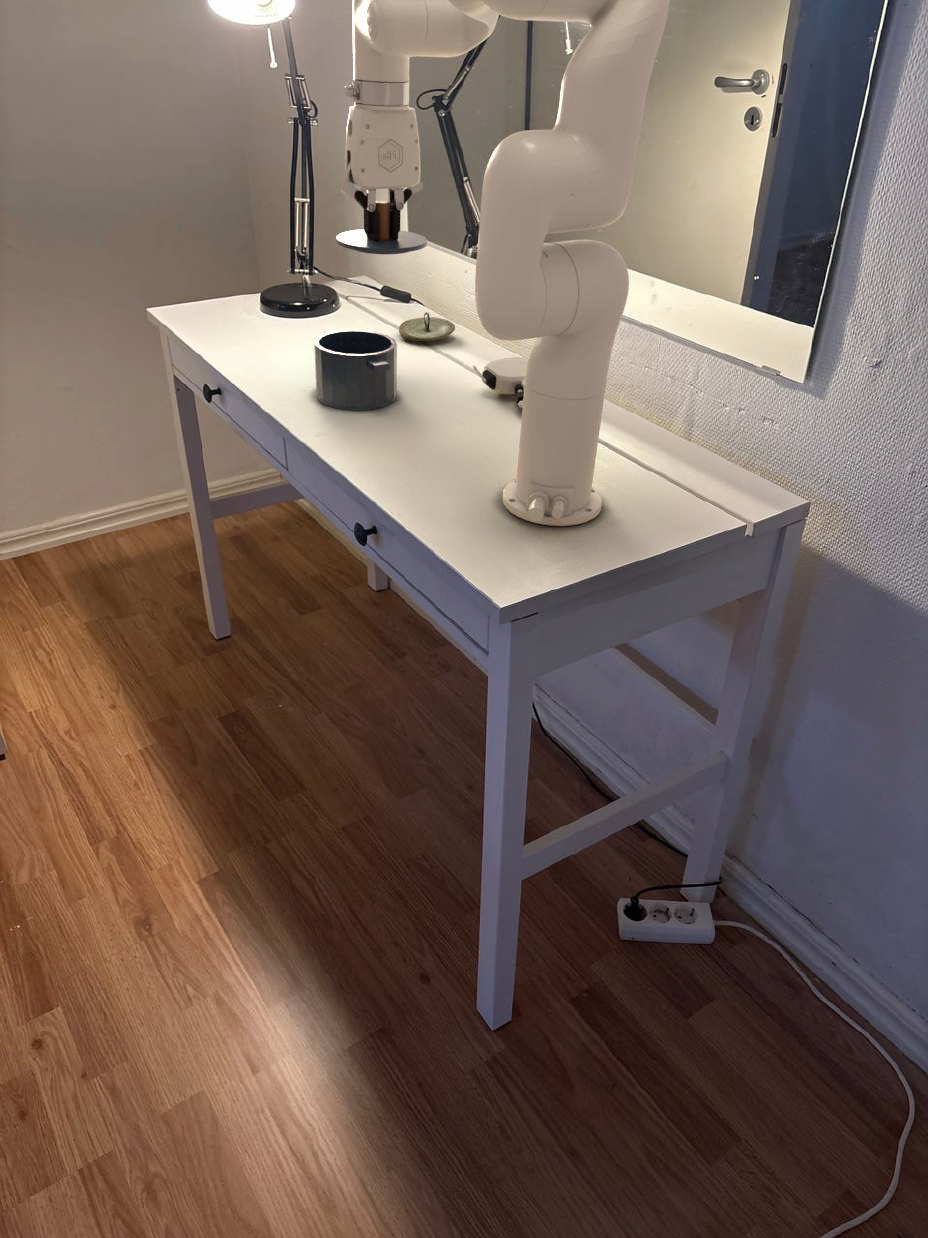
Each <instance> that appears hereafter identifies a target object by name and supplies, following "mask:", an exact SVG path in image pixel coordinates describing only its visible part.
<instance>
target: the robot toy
mask: <svg viewBox="0 0 928 1238" xmlns="http://www.w3.org/2000/svg"><path fill="white" fill-rule="evenodd" d="M528 359H529V357H525V356H523V357H519V356H517V357H503V358H500V359H496V360H493V361H491V362H488V363H486V365H484V367H483V371H482V374H481V372H480V371H479V369H478V368H477V366H476V365H474V364H473V365H472V368H473V370H474V371H475V372H476V374H477V375H478V376H479V377H480V379H481V381H482V383H483V384H484V385H485V386H487V387H488V388H490V389H491V390H492V391H493V392H495V393H496V394H498V395H515V402H516V406H517V408H519V409H523V398H524V386H525V375H526V367H527V362H528Z"/></svg>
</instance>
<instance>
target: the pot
mask: <svg viewBox="0 0 928 1238" xmlns="http://www.w3.org/2000/svg"><path fill="white" fill-rule="evenodd" d="M313 343H314V344H313V345H314V346H313V347H314V348H313V349H314V366H315V368H314V369H315V370H314V371H315V372H314V373H315V392H316V398H317V400H318V401H319V402H320V403H321V404H323V405H325V406H328V407H330V408H333V409H337V410H344V411H371V410H376V409H378V410H379V409H381V408H385V407H387V406H389V405H391V404H393V403H394V402H395V401H396V399H397V393H398V392H397V388H398V387H397V386H398V385H397V384H398V383H397V382H398V380H397V378H398V377H397V376H398V375H397V373H398V370H397V369H398V344H397V341H396V339H394V338H393V337H391V336H390V335H388V334H385V333H382V332H377V331H371V330H364V329H362V330H361V329H345V330H339V329H333V330H325V331H324V334H321V335H318V336H317V337H316V338H315V339H314V342H313Z"/></svg>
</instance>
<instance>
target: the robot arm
mask: <svg viewBox="0 0 928 1238" xmlns="http://www.w3.org/2000/svg"><path fill="white" fill-rule="evenodd" d="M670 1H671V0H352V4H351V5H352V6H351V8H352V54H353V56H352V59H353V63H352V64H353V79H352V80H351V82H352V84H350V85H345V86H344V95H345V98H350V99H352V102H353V103H354V104H353V105H350V106H349V111H348V117H347V124H346V132H345V133H346V134H345V147H344V148H345V149H344V152H345V153H344V174H343V176H342V180H341V183H340V185H339V191H340V192H341V193H343V194H345V195H348V196H349V197H352V198H353V199H354V200H355V201H356V203H357V204H358V205H360V207H361V208H362V209H363V229H364V232H365V233H366V236H367V238H369V239H371V240H373V241H378V240H379V213H378V212H377V211H376V201H377V190H381V189H383V190H385V189H387V196H388V197H387V198H388V200H387V201H389V202H390V238H392V239H394V240H397V239H398V232H400V230H401V211H402V210H403V209H404V208H405V204H406V203H407V202H408V201H409V199H410V198H411V197H412V196H415V194H417V193H418V192H421V191H422V190H423V188H424V184H423V181H422V179H421V169H422V168H421V146H420V137H419V136H420V133H419V127H418V120H417V114H416V109H415V108H413V107H410V58H414V57H426V58H429V57H430V58H454V57H455V58H456V57H459V56H462V55H464V54H466V53H468V52H470V51H472V50H474V49H475V48H476V47H478V46H479V45H480V44H481V43H483V42H484V41H486V40H487V39H489V37H490V36H491V35H492V34H493V32H494V30H495V28H496V26H497V23H498V20H499V16H501V17H504V18H506V19H507V18H508V19H511V20H516V21H533V22H534V21H536V22H555V23H556V22H558V23H563V22H564V23H585V24H588V26H589V27H590V29H589V31H588V32H587V33H586V34H585V35H584V36H583V37H582V39H581V40H580V42H579V43H578V45H576V48H575V50H574V52H573V53H572V55H571V57H570V60H569V61H568V63H567V65H566V68H565V70H564V73H563V76H562V79H561V85H560V94H559V103H558V104H559V105H558V111H557V116H556V121H555V124H554V126H553V127H552V129H529V130H527V129H526V130H522V131H517V132H514V133H512V134H509V135H508V136H506V137H504V139H502V140H501V141H500V142H499V143H498V145H496V147H495V149H493V152H492V154H491V156H490V158H489V161H488V163H487V164H486V168H485V172H484V175H483V181H482V189H481V197H480V199H481V200H480V213H479V225H478V237H477V251H476V261H475V263H476V264H475V277H474V278H475V279H474V281H475V283H474V299H475V307H476V312H477V316H478V318H479V322H480V324H481V325H482V327H483V328H484V330H485V331H486V332H487V333H488V334H489V335H490V336H492V337H493V338H496V339H498V340H501V341H511V342H512V341H521V340H530V339H536V340H535V342H534V344H533V346H532V347H531V350H530V352H529V355H528V358H529V359H528V362H527V367H526V375H525V386H524V398H523V408H521V420H520V421H521V422H520V433H519V444H518V446H519V447H518V456H517V467H516V478H515V479H513V480H512V481H510V482H509V483H507V484H506V485H505V487H504V488H503V490H502V498H501V499H502V500H501V501H502V503H503V506H504V507H505V508H506V509H507V510H508V511H509V512H510V513H511V514H512V515H514V516H516V517H518V518H520V519H521V520H524V521H527V522H530V523H534V524H539V525H543V526H552V527H566V526H567V527H568V526H576V525H581V524H584V523H587V522H589V521H591V520H593V519H595V518H596V517H597V516H598V515H599V514H600V512H601V511H602V506H603V498H602V495H601V493H599V491H598V490H597V489H596V488H594V487H593V481H594V474H595V466H596V460H597V452H598V443H599V438H600V430H601V423H602V422H601V421H602V416H603V409H604V402H605V394H606V389H607V382H608V373H609V368H610V361H611V357H612V352H613V347H614V343H615V338H616V336H617V332H618V329H619V326H620V323H621V320H622V317H623V314H624V312H625V309H626V306H627V302H628V297H629V291H630V275H629V270H628V266H627V263H626V261H625V260H624V258H623V256H622V255H621V253H620V252H619V251H618V250H617V249H616V248H615V247H613V246H612V245H611V244H608V243H606V242H603V241H600V240H594V239H572V240H562V241H552V242H551V241H550V242H546V243H545V239H546V236H547V234H558V233H559V234H560V233H568V232H578V231H589V230H596V229H602V228H605V227H608V226H610V225H612V224H614V223H616V222H617V221H618V220H619V219H620V218H622V216H623V214H625V211H626V209H627V207H628V202H629V200H630V196H631V191H632V186H633V181H634V175H635V170H636V163H637V158H638V151H639V145H640V139H641V133H642V128H643V122H644V115H645V109H646V101H647V95H648V90H649V84H650V81H651V76H652V73H653V68H654V65H655V62H656V59H657V55H658V52H659V48H660V45H661V42H662V39H663V36H664V32H665V28H666V25H667V20H668V15H669V9H670ZM354 185H357V186H358V187H359V188H360V190H359V189H358V188H356V187H354Z"/></svg>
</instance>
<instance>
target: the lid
mask: <svg viewBox="0 0 928 1238" xmlns="http://www.w3.org/2000/svg"><path fill="white" fill-rule="evenodd" d="M455 329H456V325H455V324H454V323H453V322H452V321H450V320H448V319H444V318H440V317H434V316H433V317H432V316H431V315H430V313H429V312H427V311H426V312H425V313H424V314H423V317H417V318H412V319H407V320H405V321H403V322H402V323H401V324H400V325H399V327H398V333H399V335H400V336H401V337H402V338H404V339H407V340H410V341H411V340H412V341H417V342H432V341H438V340H441V339H445V338H446V337H448V336H451V334H453V333H454V332H455Z"/></svg>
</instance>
